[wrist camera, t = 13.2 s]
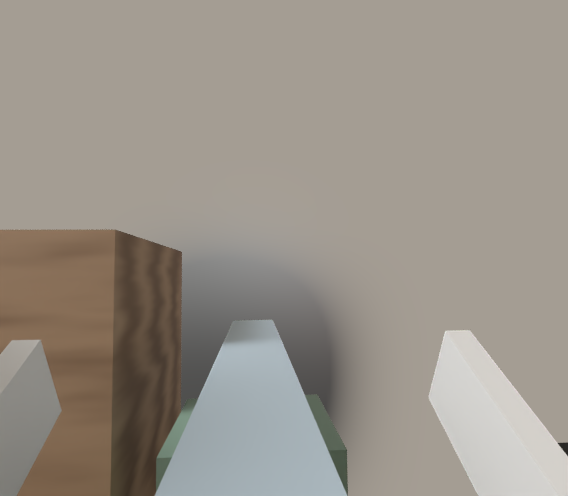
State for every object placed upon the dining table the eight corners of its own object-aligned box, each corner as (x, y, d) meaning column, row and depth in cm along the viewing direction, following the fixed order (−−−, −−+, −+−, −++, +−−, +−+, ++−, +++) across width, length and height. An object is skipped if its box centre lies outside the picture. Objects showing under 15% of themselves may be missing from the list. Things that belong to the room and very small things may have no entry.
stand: (104, 850, 19) (115, 229, 21) (-120, 877, 19) (-87, 230, 21) (179, 558, 39) (181, 251, 41) (73, 565, 38) (80, 252, 40)
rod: (367, 772, 6) (361, 530, 6) (129, 798, 6) (132, 544, 6) (272, 359, 36) (272, 319, 36) (233, 360, 36) (233, 320, 36)
